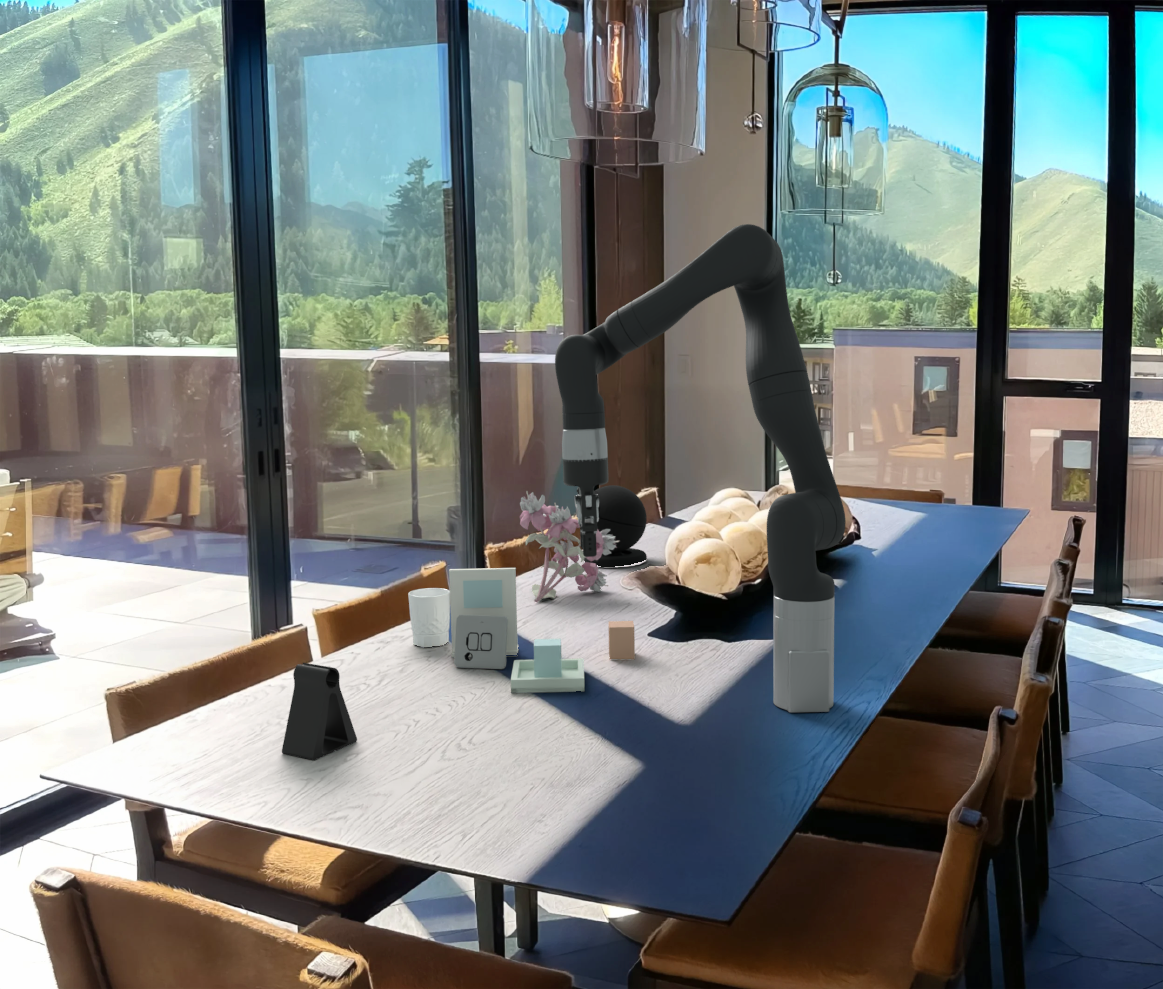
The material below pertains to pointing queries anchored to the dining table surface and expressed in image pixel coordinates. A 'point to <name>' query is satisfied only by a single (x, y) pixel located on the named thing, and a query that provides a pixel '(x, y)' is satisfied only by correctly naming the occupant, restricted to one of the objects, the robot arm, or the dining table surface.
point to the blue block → (547, 658)
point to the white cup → (430, 616)
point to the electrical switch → (481, 641)
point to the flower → (562, 546)
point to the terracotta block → (621, 640)
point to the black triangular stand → (317, 714)
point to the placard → (485, 598)
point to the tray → (528, 684)
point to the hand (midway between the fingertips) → (588, 552)
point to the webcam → (621, 525)
